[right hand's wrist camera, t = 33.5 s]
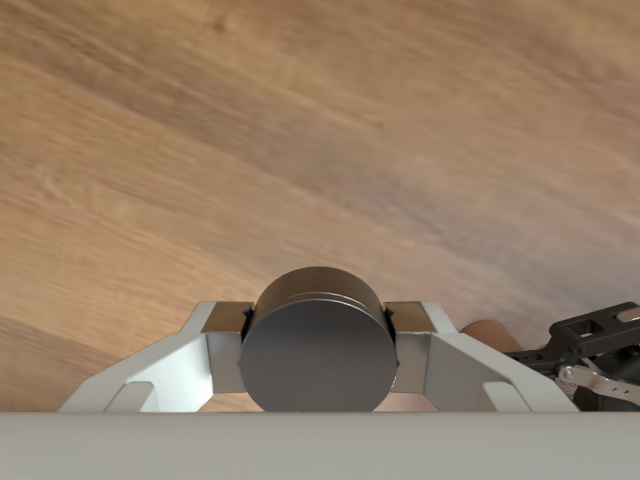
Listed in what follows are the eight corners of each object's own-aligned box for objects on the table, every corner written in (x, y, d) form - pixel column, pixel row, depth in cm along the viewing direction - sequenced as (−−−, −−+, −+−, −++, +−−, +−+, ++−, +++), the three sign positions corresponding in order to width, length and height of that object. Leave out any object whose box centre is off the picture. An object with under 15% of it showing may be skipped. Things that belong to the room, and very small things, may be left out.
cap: (240, 274, 9) (222, 309, 8) (379, 257, 9) (392, 289, 8) (265, 384, 11) (255, 435, 9) (388, 372, 10) (402, 421, 9)
